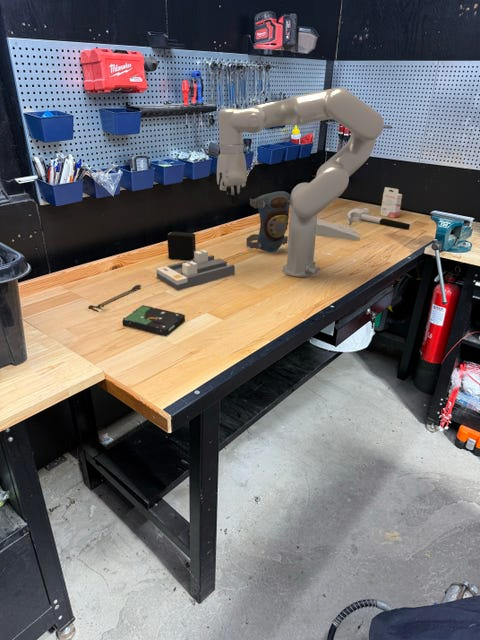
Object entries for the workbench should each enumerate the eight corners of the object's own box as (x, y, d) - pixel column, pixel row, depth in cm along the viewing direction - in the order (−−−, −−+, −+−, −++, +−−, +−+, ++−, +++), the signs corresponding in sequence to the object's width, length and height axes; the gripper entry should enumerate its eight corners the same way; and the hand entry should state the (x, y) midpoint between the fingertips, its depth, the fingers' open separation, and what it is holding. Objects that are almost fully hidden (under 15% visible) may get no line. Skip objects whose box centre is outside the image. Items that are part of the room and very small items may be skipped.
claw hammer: (417, 217, 223) (361, 205, 240) (399, 227, 208) (340, 213, 225) (414, 228, 226) (359, 216, 242) (396, 238, 211) (339, 224, 227)
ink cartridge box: (399, 216, 240) (404, 188, 233) (394, 218, 237) (398, 189, 230) (384, 213, 246) (389, 185, 239) (379, 215, 242) (383, 186, 236)
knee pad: (258, 258, 180) (260, 194, 168) (238, 244, 196) (238, 184, 184) (298, 253, 186) (302, 190, 175) (275, 239, 202) (278, 181, 191)
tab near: (197, 276, 156) (196, 262, 154) (187, 279, 154) (186, 265, 152) (192, 274, 158) (192, 260, 156) (182, 276, 156) (182, 262, 154)
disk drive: (185, 322, 132) (143, 312, 138) (185, 314, 131) (142, 304, 136) (166, 338, 124) (122, 327, 129) (166, 329, 123) (121, 318, 128)
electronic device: (193, 261, 177) (192, 236, 172) (168, 259, 178) (166, 234, 174) (196, 257, 180) (195, 233, 176) (172, 255, 182) (170, 231, 177)
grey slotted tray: (234, 274, 165) (234, 265, 163) (177, 290, 151) (177, 280, 150) (212, 263, 174) (212, 254, 173) (156, 277, 161) (156, 268, 159)
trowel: (369, 237, 208) (371, 226, 205) (350, 245, 198) (351, 233, 195) (319, 225, 225) (320, 214, 223) (299, 231, 215) (300, 220, 213)
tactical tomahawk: (102, 317, 136) (101, 313, 135) (87, 309, 139) (87, 306, 139) (152, 293, 151) (152, 290, 151) (138, 286, 154) (138, 283, 154)
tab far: (208, 264, 167) (207, 250, 165) (199, 266, 165) (198, 252, 163) (203, 262, 170) (203, 248, 167) (194, 264, 167) (194, 250, 165)
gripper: (241, 146, 156) (242, 200, 165) (206, 151, 148) (210, 207, 156) (255, 148, 151) (256, 203, 160) (221, 153, 143) (224, 211, 151)
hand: (233, 205), depth 158 cm, fingers closed
